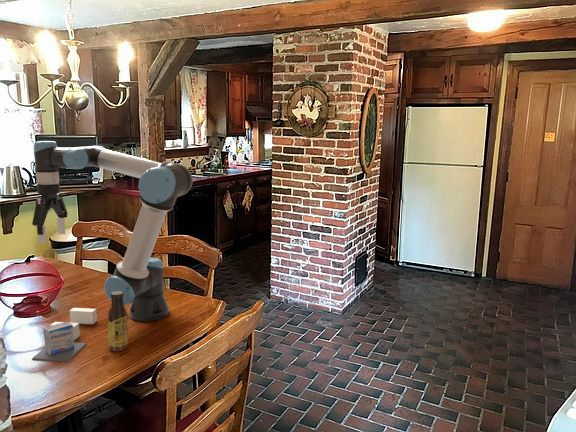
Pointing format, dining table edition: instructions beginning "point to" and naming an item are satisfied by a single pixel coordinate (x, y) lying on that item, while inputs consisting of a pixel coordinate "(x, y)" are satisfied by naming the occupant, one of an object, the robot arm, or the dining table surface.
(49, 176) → the robot arm
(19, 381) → the dining table surface
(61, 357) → the rubber mat
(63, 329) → the medicine box
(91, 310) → the slot stand
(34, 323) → the dining table surface
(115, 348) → the sauce bottle
